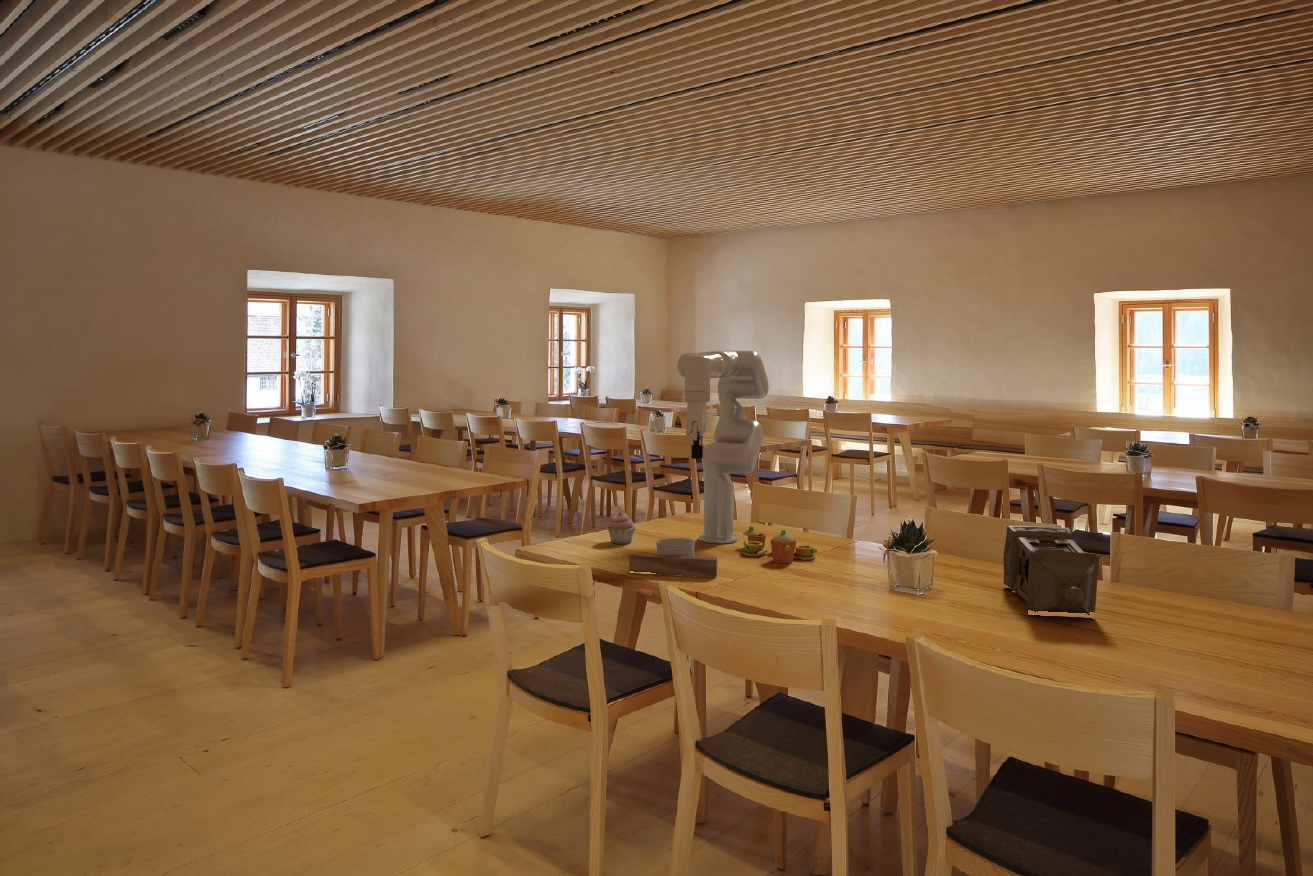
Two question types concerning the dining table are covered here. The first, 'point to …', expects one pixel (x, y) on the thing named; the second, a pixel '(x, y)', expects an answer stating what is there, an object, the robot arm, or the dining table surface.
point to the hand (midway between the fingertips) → (697, 458)
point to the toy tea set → (777, 547)
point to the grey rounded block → (676, 546)
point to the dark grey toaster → (1050, 569)
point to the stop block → (674, 565)
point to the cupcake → (621, 529)
